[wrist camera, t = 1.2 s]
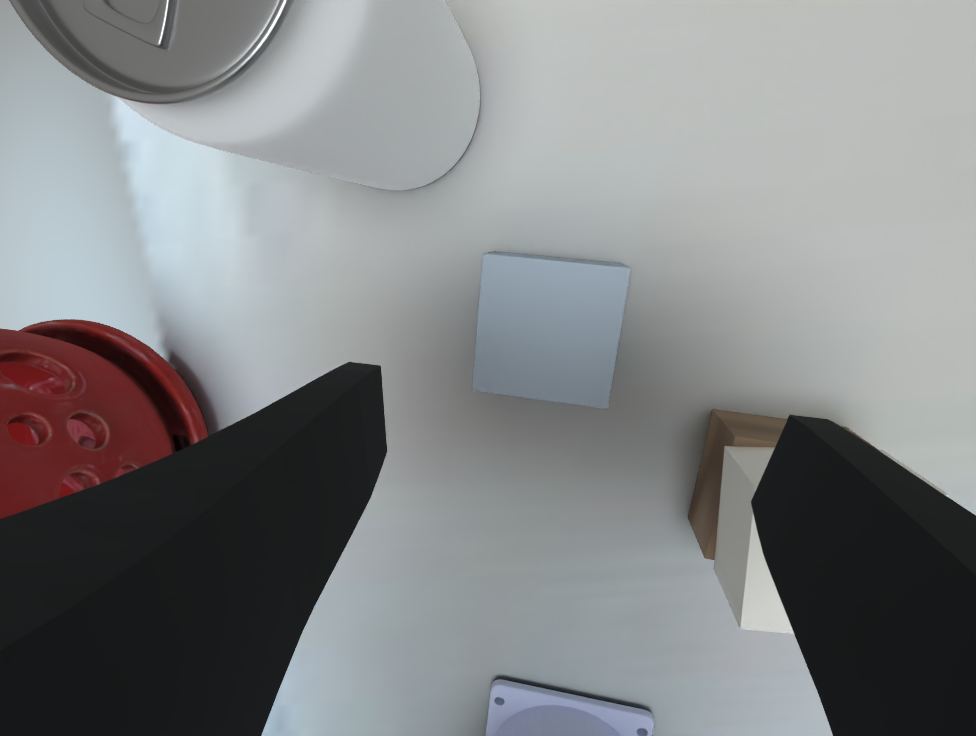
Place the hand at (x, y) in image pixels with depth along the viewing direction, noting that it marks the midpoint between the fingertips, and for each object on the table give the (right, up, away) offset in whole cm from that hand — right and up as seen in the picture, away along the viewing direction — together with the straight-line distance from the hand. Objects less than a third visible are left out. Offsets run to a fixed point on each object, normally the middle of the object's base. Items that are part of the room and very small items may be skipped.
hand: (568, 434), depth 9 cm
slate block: (+1, +3, +11) cm, 12 cm away
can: (-5, +11, +10) cm, 16 cm away
